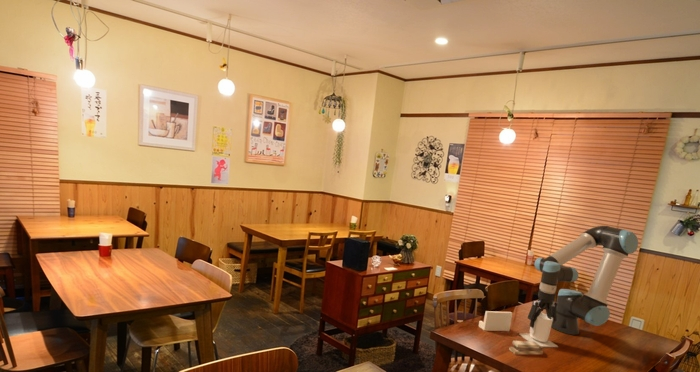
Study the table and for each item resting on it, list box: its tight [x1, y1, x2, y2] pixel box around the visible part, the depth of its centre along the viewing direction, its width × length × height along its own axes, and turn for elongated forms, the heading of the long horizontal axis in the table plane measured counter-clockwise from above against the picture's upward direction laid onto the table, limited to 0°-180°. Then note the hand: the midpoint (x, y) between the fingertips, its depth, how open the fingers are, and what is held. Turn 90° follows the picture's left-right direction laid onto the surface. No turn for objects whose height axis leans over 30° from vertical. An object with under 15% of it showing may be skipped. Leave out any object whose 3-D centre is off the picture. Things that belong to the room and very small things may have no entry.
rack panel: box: [478, 310, 513, 332], centre depth 199 cm, size 16×5×10 cm, turn 106°
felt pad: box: [518, 332, 559, 348], centre depth 192 cm, size 13×13×1 cm
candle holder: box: [529, 312, 553, 342], centre depth 191 cm, size 10×10×12 cm
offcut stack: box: [508, 340, 544, 355], centre depth 176 cm, size 16×5×4 cm, turn 106°
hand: (539, 333), depth 191 cm, fingers closed on candle holder, 9 cm apart
